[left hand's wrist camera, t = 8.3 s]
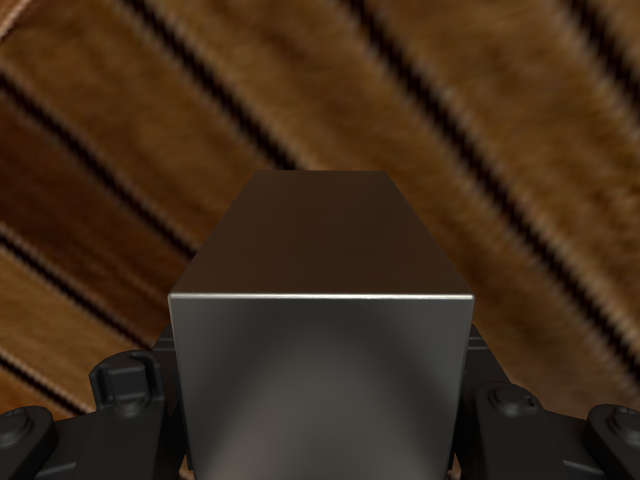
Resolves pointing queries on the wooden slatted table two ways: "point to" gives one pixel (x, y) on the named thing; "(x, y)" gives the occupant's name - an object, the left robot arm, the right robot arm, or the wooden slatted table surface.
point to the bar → (320, 335)
